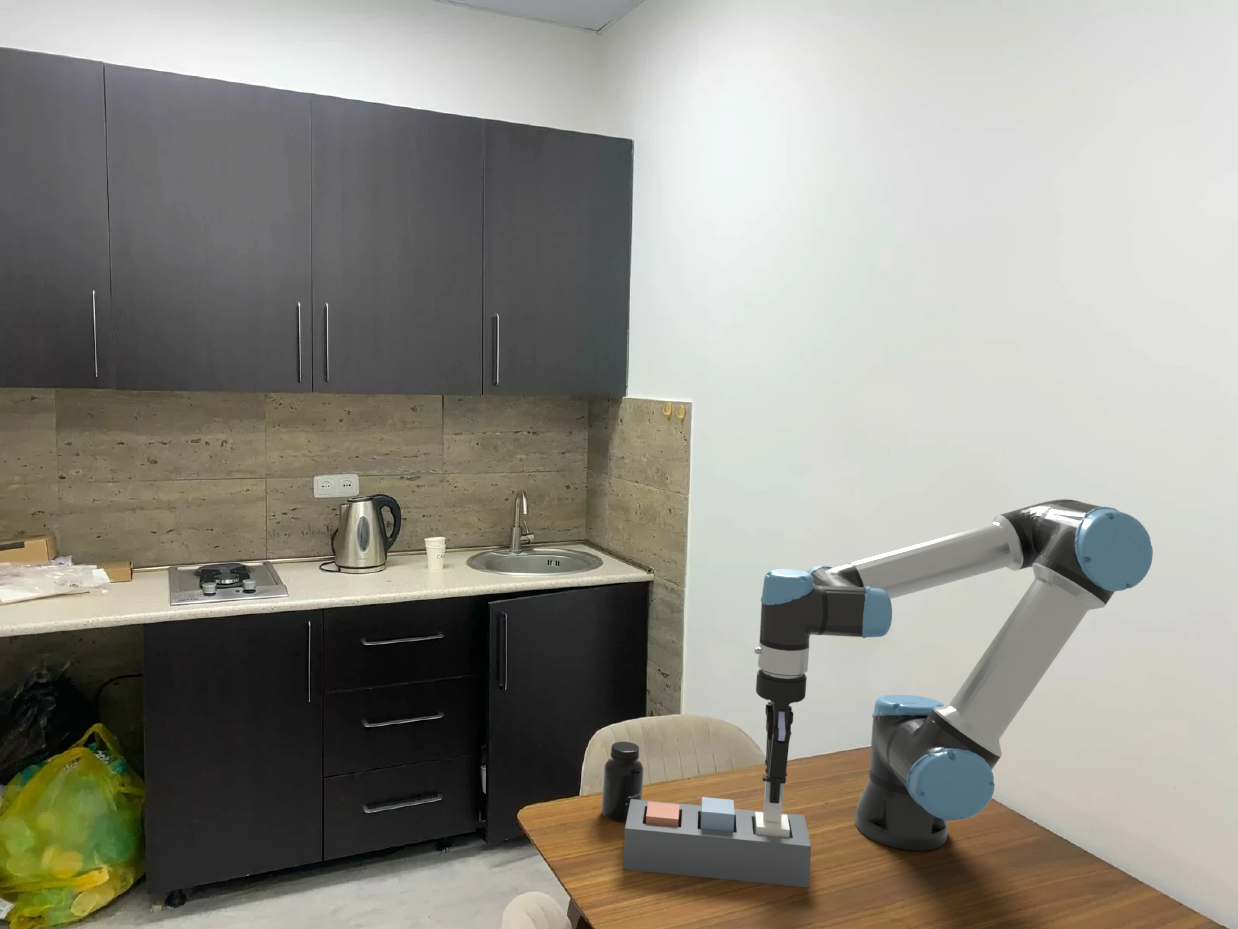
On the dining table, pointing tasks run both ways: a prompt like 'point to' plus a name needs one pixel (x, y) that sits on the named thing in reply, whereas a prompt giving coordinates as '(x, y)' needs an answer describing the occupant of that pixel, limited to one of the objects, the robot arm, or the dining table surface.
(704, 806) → the blue key
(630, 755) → the supplement bottle
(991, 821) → the dining table surface
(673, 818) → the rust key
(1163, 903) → the dining table surface
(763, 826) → the white key
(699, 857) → the console
